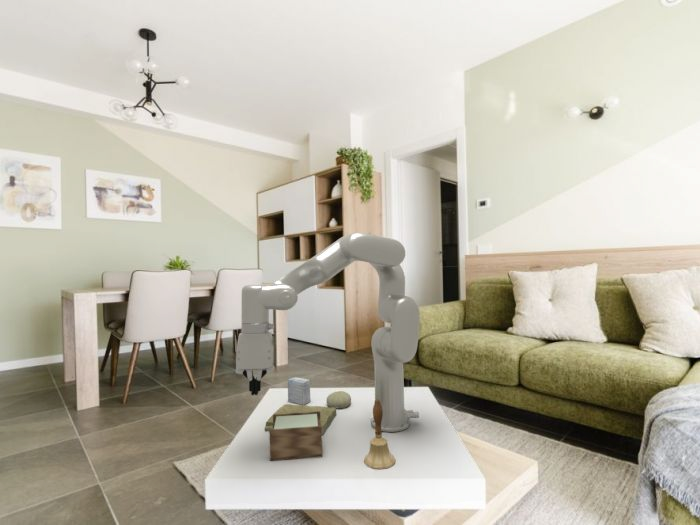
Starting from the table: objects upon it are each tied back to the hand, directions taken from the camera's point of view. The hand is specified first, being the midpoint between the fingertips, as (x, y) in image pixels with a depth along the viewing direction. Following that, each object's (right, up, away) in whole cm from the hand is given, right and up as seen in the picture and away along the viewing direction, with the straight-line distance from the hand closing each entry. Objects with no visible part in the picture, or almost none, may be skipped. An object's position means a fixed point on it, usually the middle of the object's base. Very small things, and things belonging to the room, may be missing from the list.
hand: (255, 393), depth 103 cm
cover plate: (+12, -10, +1) cm, 16 cm away
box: (+12, -16, +1) cm, 20 cm away
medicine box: (+7, -17, +39) cm, 43 cm away
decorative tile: (+10, -17, +19) cm, 28 cm away
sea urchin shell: (+23, -17, +35) cm, 45 cm away
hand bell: (+35, -16, -6) cm, 39 cm away
